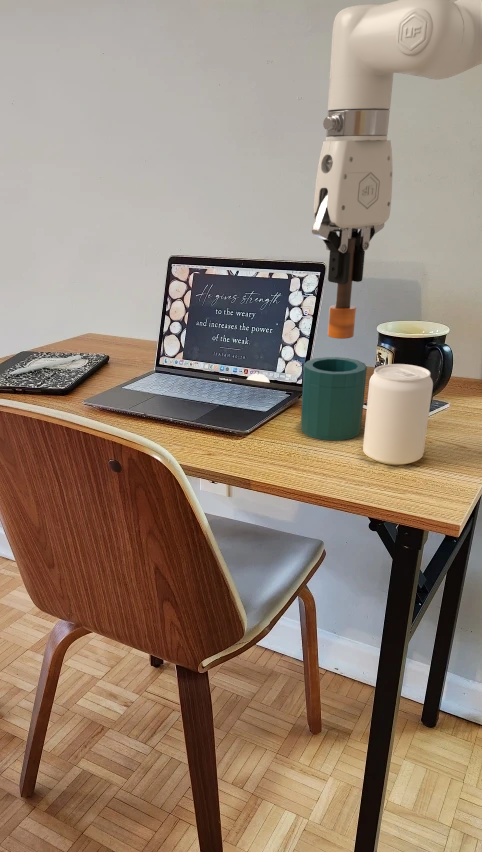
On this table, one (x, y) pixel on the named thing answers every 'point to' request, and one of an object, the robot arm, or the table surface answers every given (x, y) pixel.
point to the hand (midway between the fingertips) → (345, 280)
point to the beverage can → (397, 413)
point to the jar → (333, 398)
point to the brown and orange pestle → (343, 304)
